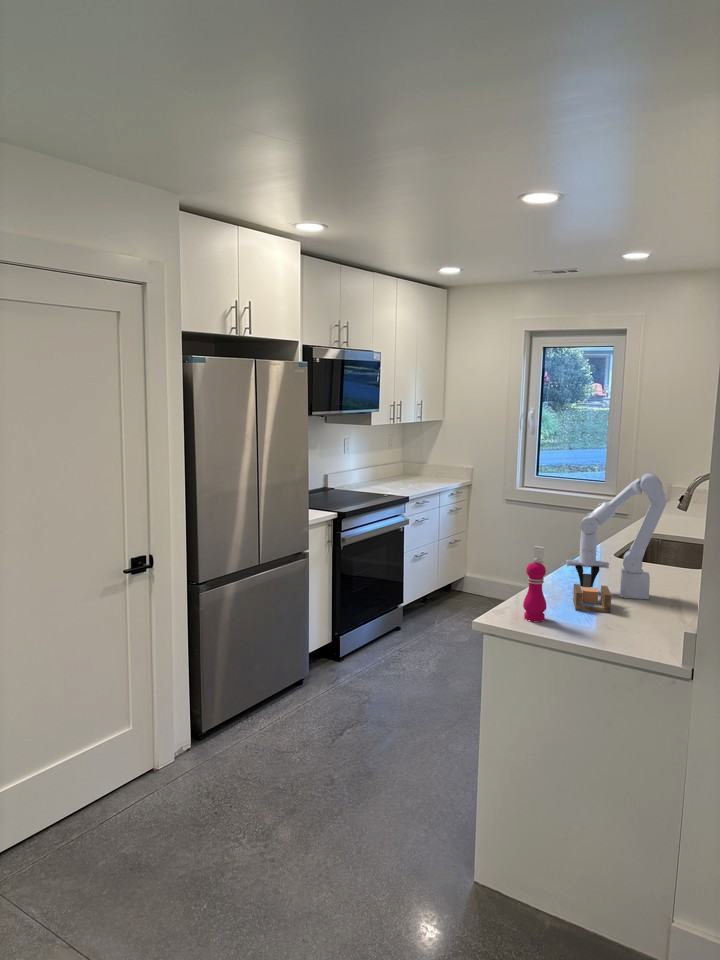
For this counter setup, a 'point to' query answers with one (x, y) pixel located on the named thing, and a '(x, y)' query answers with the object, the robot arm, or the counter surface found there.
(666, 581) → the counter surface
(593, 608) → the brown wooden u-shaped piece
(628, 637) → the counter surface
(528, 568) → the pepper mill
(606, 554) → the counter surface
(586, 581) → the grey and tan dumbbell
